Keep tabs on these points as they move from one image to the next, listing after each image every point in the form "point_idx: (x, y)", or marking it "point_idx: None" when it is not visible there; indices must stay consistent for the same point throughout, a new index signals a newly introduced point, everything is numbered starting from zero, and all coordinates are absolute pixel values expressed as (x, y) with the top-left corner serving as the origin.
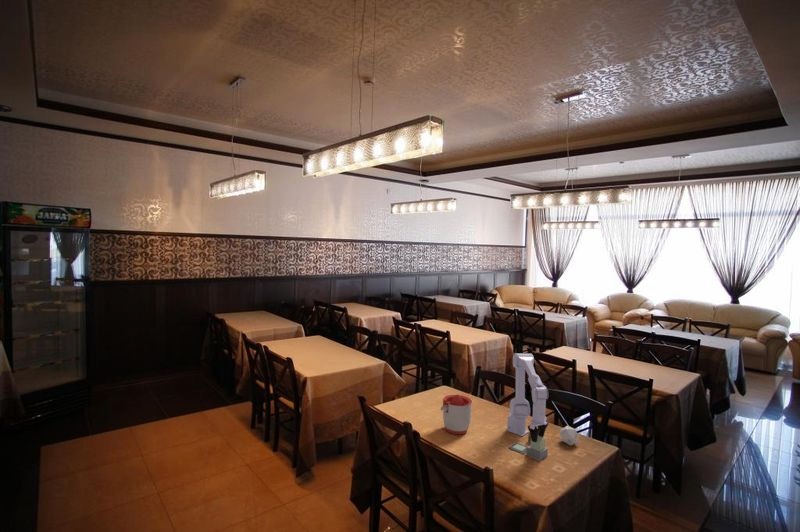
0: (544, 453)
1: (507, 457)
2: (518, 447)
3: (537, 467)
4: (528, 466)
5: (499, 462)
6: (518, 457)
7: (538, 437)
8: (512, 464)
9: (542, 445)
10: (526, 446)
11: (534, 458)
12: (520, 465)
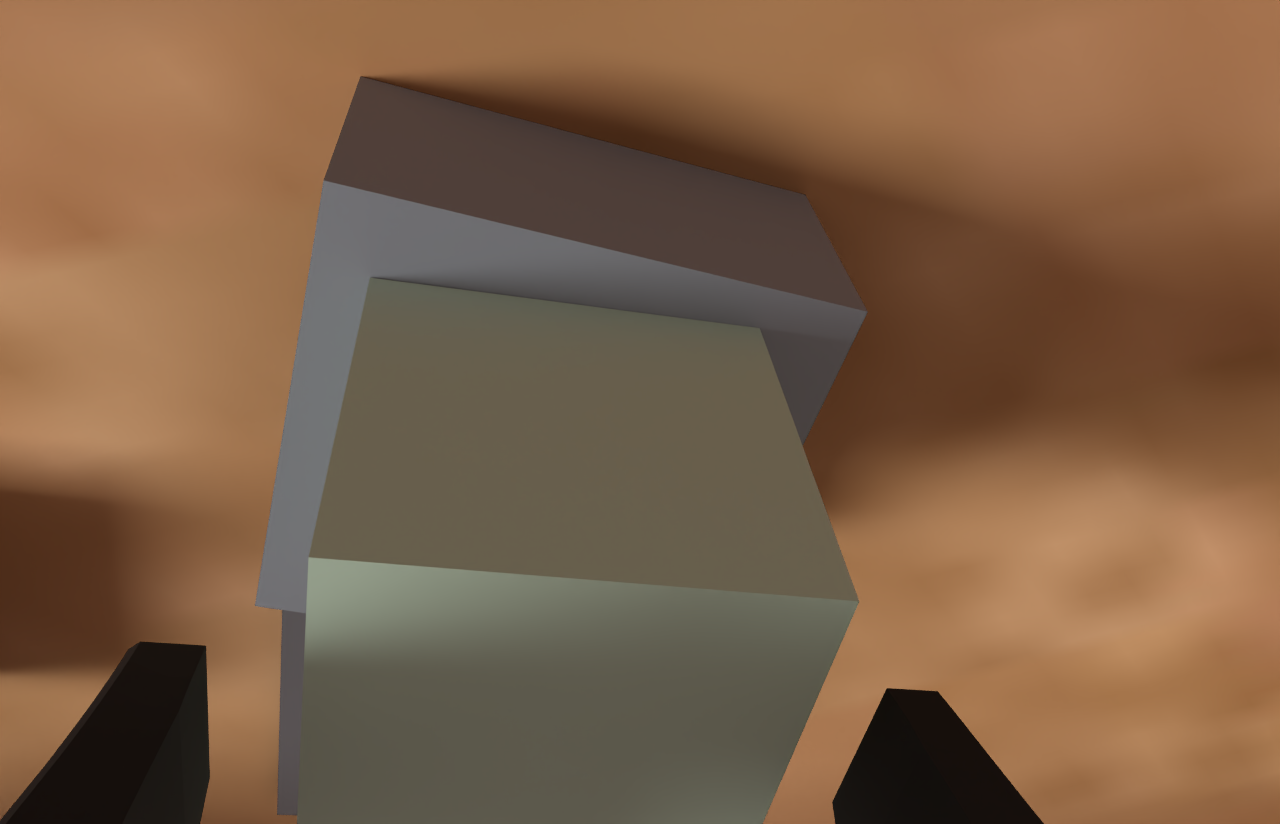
0: (555, 189)
1: (1004, 722)
2: None
3: (1206, 151)
4: (1229, 340)
5: (1250, 747)
6: (899, 597)
7: (487, 762)
8: (1251, 592)
9: (622, 416)
10: (288, 634)
11: None
12: (1241, 477)
